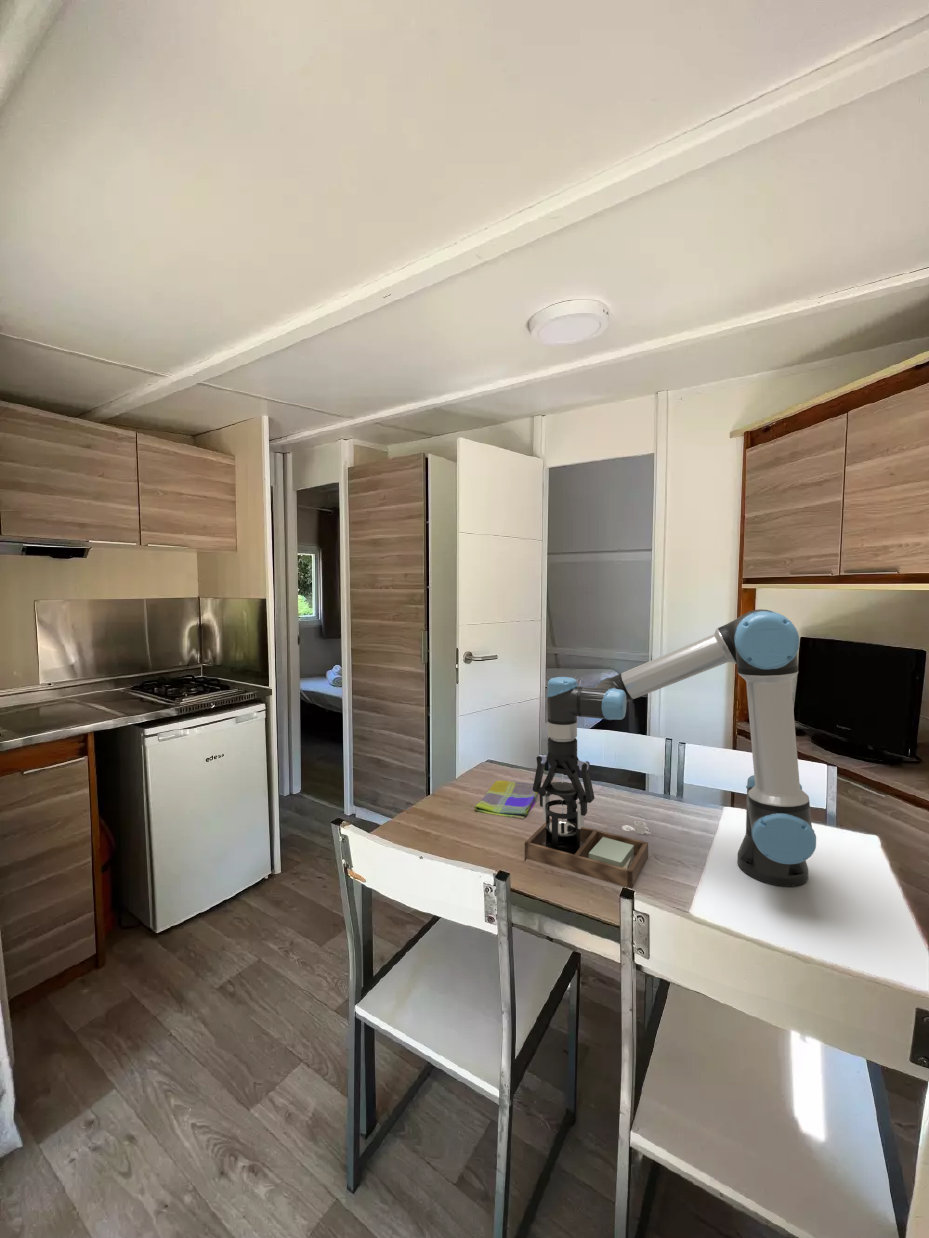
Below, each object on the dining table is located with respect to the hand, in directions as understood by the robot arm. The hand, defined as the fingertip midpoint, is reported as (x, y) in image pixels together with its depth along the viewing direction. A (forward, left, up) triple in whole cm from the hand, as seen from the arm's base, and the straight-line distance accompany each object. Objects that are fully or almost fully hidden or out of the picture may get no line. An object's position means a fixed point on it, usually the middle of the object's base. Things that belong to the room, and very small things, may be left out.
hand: (563, 822), depth 138 cm
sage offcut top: (-13, 0, -6) cm, 14 cm away
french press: (0, 0, -8) cm, 8 cm away
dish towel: (+28, -24, -10) cm, 39 cm away
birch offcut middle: (-13, 0, -8) cm, 15 cm away
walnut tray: (-6, 0, -9) cm, 11 cm away
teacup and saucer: (-14, -24, -10) cm, 29 cm away
